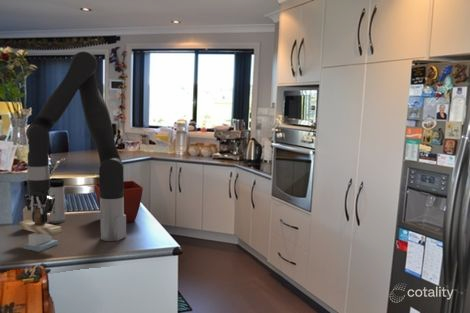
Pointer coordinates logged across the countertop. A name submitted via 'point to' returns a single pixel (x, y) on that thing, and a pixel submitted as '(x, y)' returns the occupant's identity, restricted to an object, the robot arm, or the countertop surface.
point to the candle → (27, 214)
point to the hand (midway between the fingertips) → (39, 222)
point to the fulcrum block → (39, 242)
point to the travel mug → (57, 200)
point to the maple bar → (39, 225)
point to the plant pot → (127, 199)
